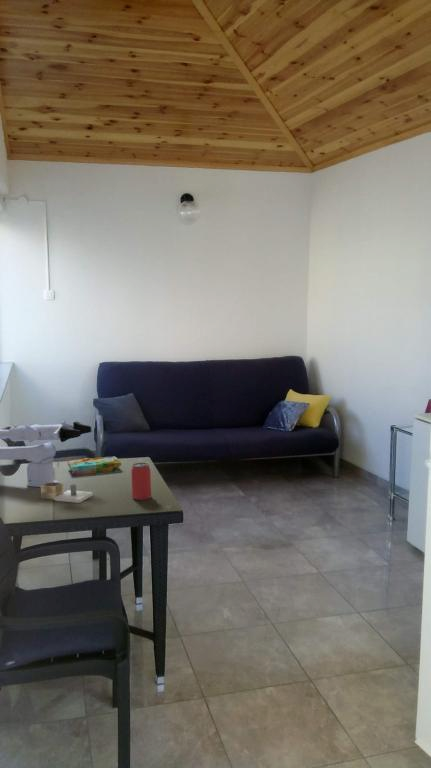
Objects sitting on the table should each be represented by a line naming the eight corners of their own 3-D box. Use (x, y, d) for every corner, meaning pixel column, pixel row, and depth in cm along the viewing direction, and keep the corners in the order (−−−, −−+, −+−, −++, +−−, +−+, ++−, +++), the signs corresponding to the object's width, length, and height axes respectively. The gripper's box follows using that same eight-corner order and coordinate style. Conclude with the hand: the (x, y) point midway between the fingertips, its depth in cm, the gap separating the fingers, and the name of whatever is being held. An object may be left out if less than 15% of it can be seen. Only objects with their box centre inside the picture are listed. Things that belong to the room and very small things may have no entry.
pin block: (54, 500, 234) (53, 487, 234) (68, 493, 243) (67, 480, 242) (79, 502, 231) (78, 489, 230) (92, 495, 239) (92, 482, 239)
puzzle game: (67, 459, 277) (115, 454, 283) (68, 470, 277) (115, 465, 284) (71, 465, 266) (120, 460, 272) (71, 477, 266) (121, 471, 273)
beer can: (151, 499, 232) (150, 466, 231) (132, 501, 231) (131, 467, 230) (150, 494, 239) (149, 461, 237) (132, 495, 238) (130, 462, 236)
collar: (41, 498, 237) (40, 485, 237) (50, 493, 243) (49, 481, 242) (54, 499, 236) (54, 487, 235) (63, 494, 241) (62, 482, 240)
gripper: (41, 425, 244) (73, 424, 239) (63, 418, 257) (94, 417, 252) (43, 444, 244) (75, 443, 240) (65, 436, 258) (96, 435, 253)
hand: (85, 431), depth 246 cm, fingers open, 7 cm apart
